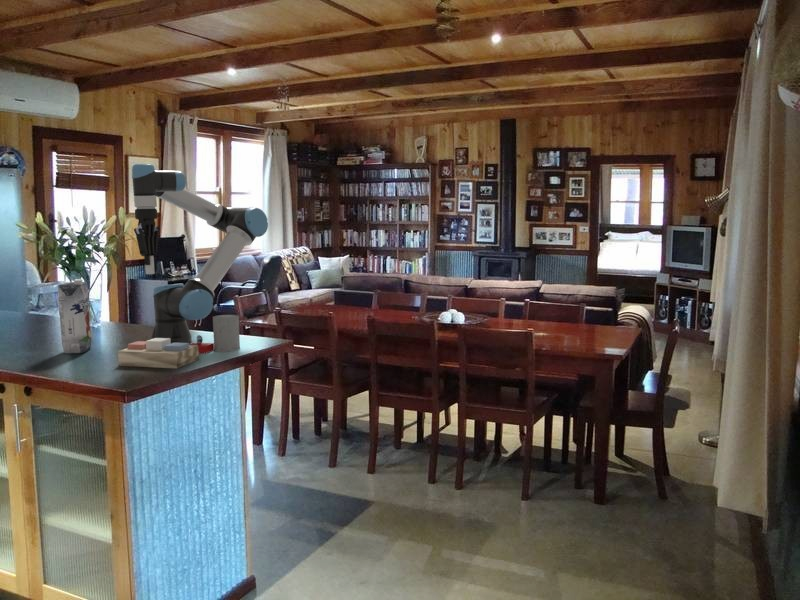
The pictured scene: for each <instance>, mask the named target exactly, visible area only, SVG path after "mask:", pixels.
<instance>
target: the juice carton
mask: <svg viewBox="0 0 800 600" xmlns="http://www.w3.org/2000/svg"><path fill="white" fill-rule="evenodd" d="M57 289H58V290H57V292H58V293H57V297H58V298H57V299H58V310H59V323H60V324H59V325H60V337H61V345H62V346H61V347H62V349H63V350H62V351H63V353H64V354H84V353H86V352H87V351H88V350H90V349H91V348H92V327H91V312H90V311H91V310H90V299H89V298H90V296H89V287H88V282H87V281H83V279H77V278H76V279H74V280H73V281H71V282H66V281H65V282H64V283H62V284H58V286H57Z"/></svg>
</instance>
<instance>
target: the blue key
mask: <svg viewBox="0 0 800 600" xmlns="http://www.w3.org/2000/svg"><path fill="white" fill-rule="evenodd" d="M189 344H190V342H189V343H171V344H168V345H165V351H183V350H185V349H188V348H189Z"/></svg>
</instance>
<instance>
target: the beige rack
mask: <svg viewBox="0 0 800 600" xmlns="http://www.w3.org/2000/svg"><path fill="white" fill-rule="evenodd" d="M199 355H200V353H198V345H189V348H188V349H185V350H183V351H165V349H164V350H146V349H144V350H138V349H128V347H127V348H124V349H120V350H118V351H117V356H118V366H119V367H140V368H142V367H143V368H160V369H161V368H162V369H179V368H182V367H185V366H186V365H189V364H192V363H194V362H196V361H198V360H199V359H200V358H199Z"/></svg>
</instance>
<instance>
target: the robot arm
mask: <svg viewBox="0 0 800 600" xmlns="http://www.w3.org/2000/svg"><path fill="white" fill-rule="evenodd" d="M131 167H132V168H131V169H132V170H131V178H132V187H133V202H134V204H133V205H134V208H135V209H134V219H136V220H138V221H137V222H138V224H137V227H135V228H133V231H134V233H135V235H136V236H135V237H136V241H137V246H138V251H139V254H140V256H141V257H143V258H144V259H143V260H144V268H145V269H144V270H145V275H155V274H156V273H155V257H154V256H157V254H158V248H159V247H158V245H159V234H160V230H161V229H160V226H157V225H156V221H155V220H157V219H158V209H157V208H156V207H158V203H157V198H159V199H160V200H163V201H164V202H167V203H169V204H171V205H173V206H175V207H177V208H179V209H182V210H184V211H185V212H187V213H190V214H192V215H194V216H195V217H198V218H200V219H202V220H204V221H206V224H207V225H208V226H210V227H213V228H214V229H216V230H219V231H221V232H223V233H225V236H224V237H223V239H222V240H221V241H220V243H219V244H218V245H217V247H216V248H215V250H214V251H213V253H212V254H211V255H210V256H209V258H208V259H207V261H206V262H205V264H204V265H203V266H202V267H201V269H200V270H199V272H198V273H197V274H196V276H195V277H194V278H189V279H188V280H187V281H186V283H185V284H184V283H174V284H165V285H156V286H155V287H154V288H153V292H152V293H153V295H152V297H153V306H154V308H153V309H154V327H153V331H152V335H151V339H154V338H170V339H171V343H189V344H190V343H192V340H193V339H192V334H191V331H190V328H189V325H188V323H187V320H189V321H199V320H200V321H201V320H203V319H205V318H207V316H208V315H210V313H211V312H212V311H213V307H214V304H213V303H214V298H215V292H214V291H215V289H216V288H217V287H218V286H219V284H220V282H221V281H222V279H223V278H224V277H225V276H226V274H227V272H228V271H229V269H230V268H231V267H232V266H233V264H234V262H235V261H236V260H237V258H238V257H239V255H240V254H241V252H243V250H244V249H245V247H247V246H251V245H252V244H253V242H254V241H255V239H256V238H260V237H262V236H264V235H265V234H266V232H268V231H267V230H268V228H269V223H268V217H267V215H266V212H265V211H263V210H262V209H261V208H259V207H254V206H250V207H230V206H224V205H222V204H221V203H213V202H211V201H209V200H207V199H205V198H203V197H201V196H199V195H197V194H196V193H193V192H192V191H189V190H187V189H185V188H186V185H187V181H186V180H187V178H186V175H185V174H184V172H182V171H180V170H157V169H155V166H154V164H151V163H149V164H148V163H137V164H136V163H135V164H133V165H132V166H131Z"/></svg>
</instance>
